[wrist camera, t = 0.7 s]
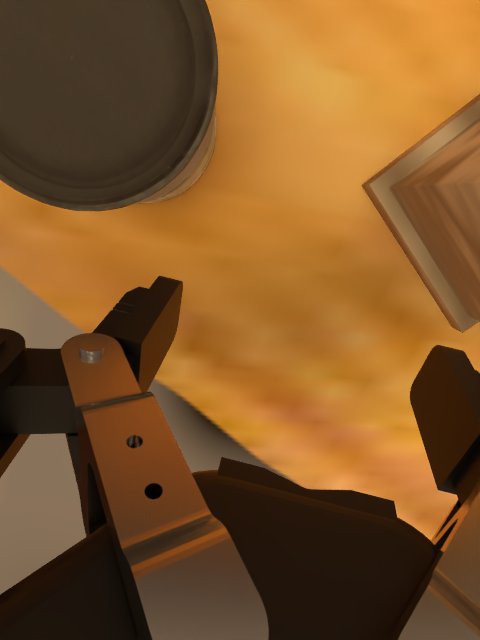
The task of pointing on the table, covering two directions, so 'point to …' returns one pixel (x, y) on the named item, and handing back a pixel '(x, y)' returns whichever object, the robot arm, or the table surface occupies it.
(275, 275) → the table surface
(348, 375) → the table surface
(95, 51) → the coffee can
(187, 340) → the table surface
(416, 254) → the stand
